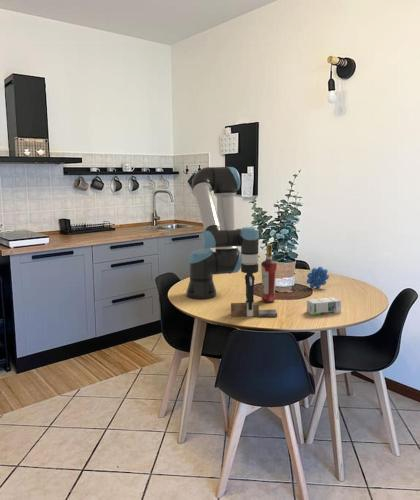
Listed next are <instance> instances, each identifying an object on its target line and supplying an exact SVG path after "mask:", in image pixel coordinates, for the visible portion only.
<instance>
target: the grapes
mask: <svg viewBox="0 0 420 500" xmlns="http://www.w3.org/2000/svg"><path fill="white" fill-rule="evenodd" d="M328 272H329V271H328V269H326V268H325V269H324V267H322V266H319V267H317V268H315V267H313V268H312V269H311V272H309V273H307V276H306V277H307V279H306V284H308V285H309V287H310V288H311V289H313V288H315V289H320V288H321V286H325V285H326V284H327V280H329V278H330V277H329V274H328Z"/></svg>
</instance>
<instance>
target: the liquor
mask: <svg viewBox="0 0 420 500" xmlns="http://www.w3.org/2000/svg"><path fill="white" fill-rule="evenodd" d="M265 249H266V256H265V260H264V261H262V262H261V265H260V266H261V290H262V292H261V293H262V294H261V300H262V301H263V302H264V303H267V304H268V303H273V302H274V301H275V300H276V297H275V295H276V278H277V267H278V266H277V262H276V261H275V260H273V256H272V255H273V254H272V252H273V251H272V250H273V244H272V243H271V244H270V243H268V244H266V248H265Z"/></svg>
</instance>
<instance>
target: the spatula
mask: <svg viewBox="0 0 420 500" xmlns="http://www.w3.org/2000/svg"><path fill="white" fill-rule="evenodd" d="M230 315H231V317H247V303H246V302H231V303H230ZM254 316H255V317H257V316H258V317H259V318H261V317H278V312H277V309H272V308H271V309H259V302H253V317H254Z"/></svg>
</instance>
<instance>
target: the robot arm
mask: <svg viewBox="0 0 420 500" xmlns="http://www.w3.org/2000/svg"><path fill="white" fill-rule="evenodd" d="M240 188H241V176H240V174H239V172H238V170H237V169H236V168H235V167H233V166H217V167H216V166H213V167H211V166H209V167H202V168H201V169H199V170H198V171H197V172H196V173H195V175H194V176H193V179H192V182H191V190H192V191H191V192H192V194H193V196H194V197H195V198H196V202H197V207H198V209H199V210H198V211H199V213H200V217H201V218H200V219H201V222H202V226H203V230H204V231H203V232H201V244H202V246H203V248H201V249H196V250H193V251H192V252H190V254H189V261H188V262H189V282H188V286H187V288H186V296H187V297H188V298H190V299H195V300H209V299H212V298H215V297H216V296H217V290H216V289H217V288H216V286H215V283H214V280H213V279H214V277H213V276H214V275H224V274H225V275H226V274H229V275H230V274H236V273H238V272H240V271H241V273H243V274H245V275H244V280H245V303H247V316H246V317H248V318H249V317H254V316H253V303H255V302H254V301H255V300H254V294H255V291H254V287H255V275H254V274H255V273H256V274H257V273H258V272H259V258H260V257H261V256H260V255H259V243H260V242H259V238H260V234H259V229H258V228H257V227H253V226H246V227H242V228H236V229H235V205H234V204H235V200H234V198H235V196H236V195H237V191H239V190H240ZM212 191H213V196H215V197H216V207H215V202H214V198H213V196H212ZM239 247H240V250H239ZM213 249H214V250H215V251H213Z"/></svg>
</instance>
